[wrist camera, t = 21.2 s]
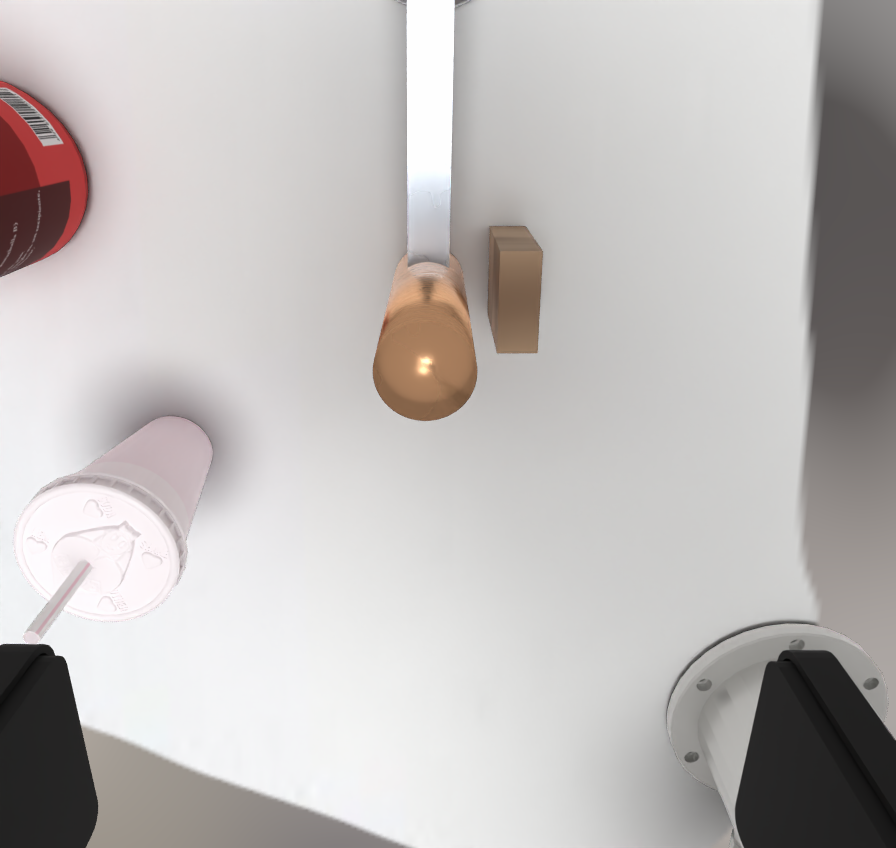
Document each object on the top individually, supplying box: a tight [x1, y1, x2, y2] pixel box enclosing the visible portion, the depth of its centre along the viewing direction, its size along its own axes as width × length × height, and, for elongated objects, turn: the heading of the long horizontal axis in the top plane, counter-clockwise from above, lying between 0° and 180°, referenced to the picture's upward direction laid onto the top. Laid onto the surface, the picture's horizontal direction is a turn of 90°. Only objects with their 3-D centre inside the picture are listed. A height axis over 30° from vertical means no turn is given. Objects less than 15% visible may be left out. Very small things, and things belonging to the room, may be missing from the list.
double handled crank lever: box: [373, 0, 477, 421], centre depth 25 cm, size 17×3×13 cm, turn 179°
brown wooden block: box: [488, 226, 543, 353], centre depth 32 cm, size 4×2×6 cm, turn 0°
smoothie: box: [13, 416, 213, 644], centre depth 32 cm, size 6×6×14 cm
